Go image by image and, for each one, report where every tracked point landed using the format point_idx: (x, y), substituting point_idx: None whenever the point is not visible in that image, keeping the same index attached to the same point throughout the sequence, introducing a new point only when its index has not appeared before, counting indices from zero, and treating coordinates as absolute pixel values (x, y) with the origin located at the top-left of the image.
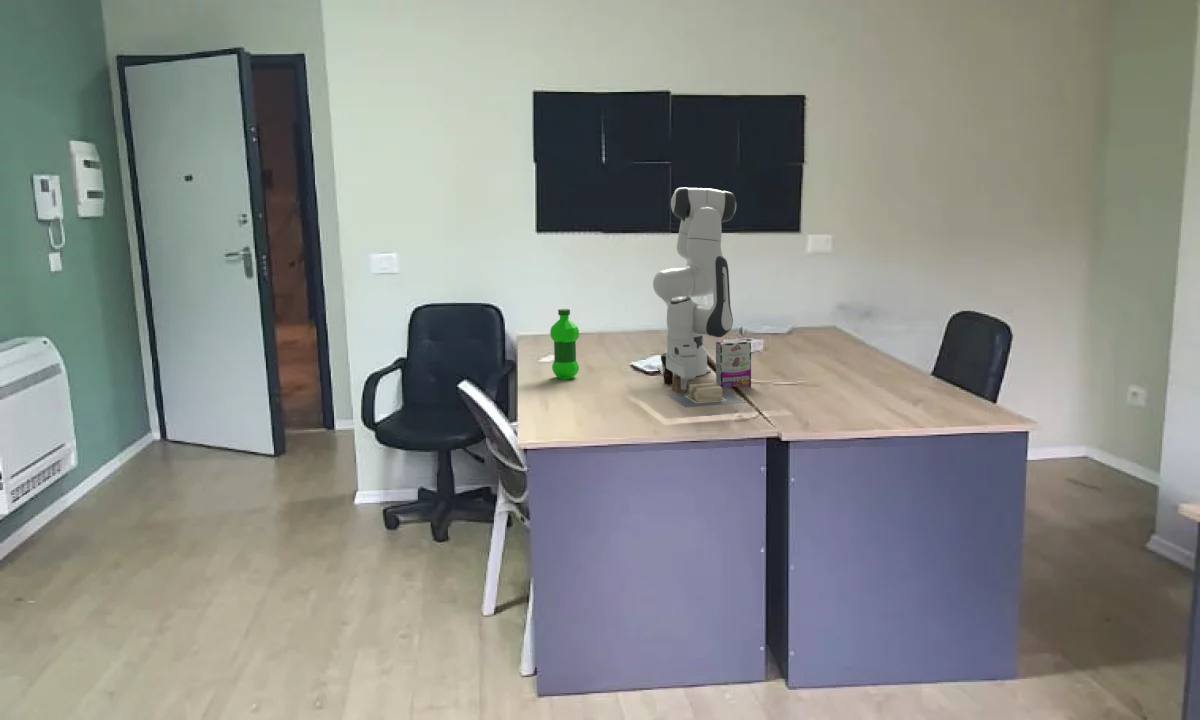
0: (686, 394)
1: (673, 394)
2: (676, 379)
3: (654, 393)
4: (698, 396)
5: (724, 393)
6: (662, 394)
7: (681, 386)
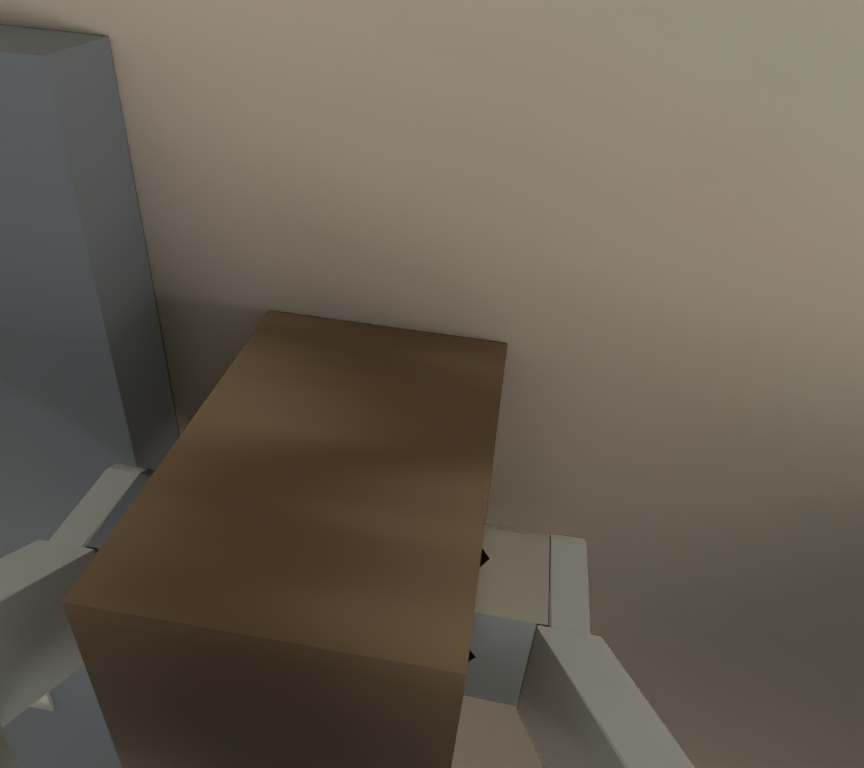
0: (38, 433)
1: (57, 222)
2: (69, 594)
3: (860, 5)
4: None
5: (57, 762)
6: (622, 159)
7: (77, 508)
